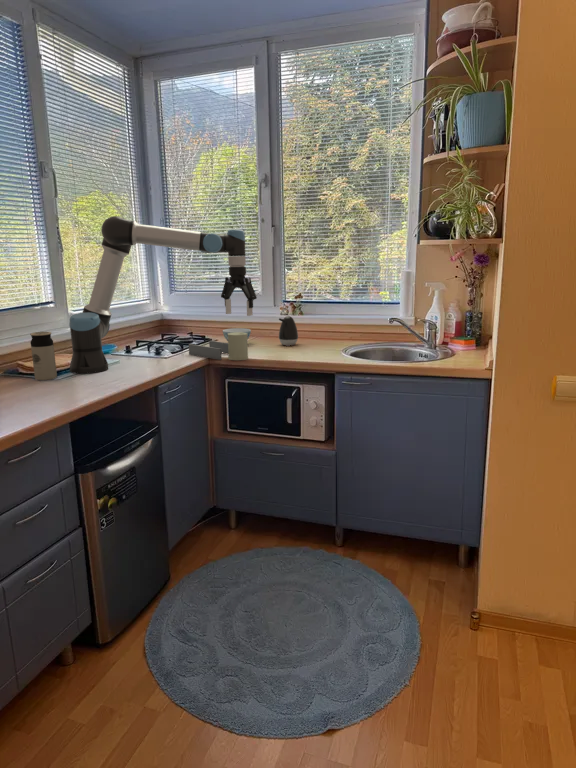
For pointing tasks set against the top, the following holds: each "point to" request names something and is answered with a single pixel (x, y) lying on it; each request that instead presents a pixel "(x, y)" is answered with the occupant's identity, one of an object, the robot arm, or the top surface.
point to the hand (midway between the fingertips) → (239, 314)
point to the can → (237, 346)
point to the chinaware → (236, 331)
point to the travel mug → (43, 356)
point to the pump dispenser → (288, 331)
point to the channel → (209, 350)
